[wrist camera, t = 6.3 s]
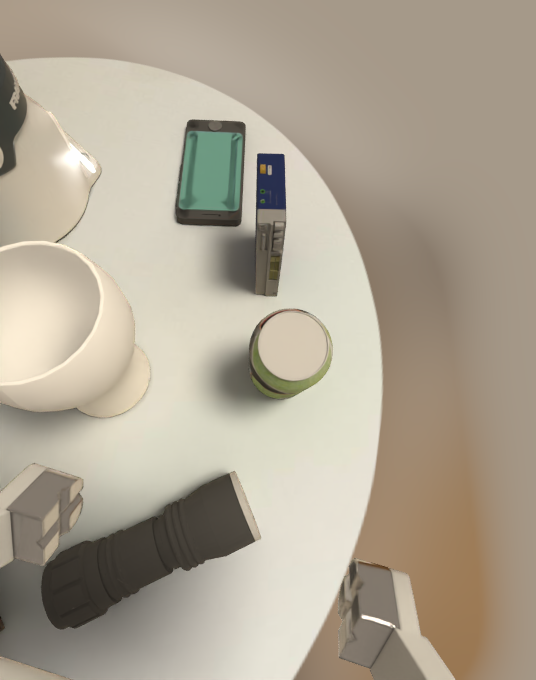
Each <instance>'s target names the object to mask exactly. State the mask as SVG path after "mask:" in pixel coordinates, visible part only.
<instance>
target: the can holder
mask: <svg viewBox="0 0 536 680" xmlns="http://www.w3.org/2000/svg"><path fill="white" fill-rule="evenodd" d="M4 628H5V627H4V625H3V622H2V620H1V617H0V631H2V630H3V629H4Z"/></svg>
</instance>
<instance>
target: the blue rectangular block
mask: <svg viewBox="0 0 536 680" xmlns="http://www.w3.org/2000/svg"><path fill="white" fill-rule="evenodd" d="M285 228H286V192H285V158H284V154H260V153H259V154H257V191H256V261H255V283H256V287H255V294H265V296H277V292H278V284H279V277H280V269H281V262H282V254H283V245H284V236H285Z"/></svg>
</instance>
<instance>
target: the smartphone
mask: <svg viewBox="0 0 536 680" xmlns="http://www.w3.org/2000/svg"><path fill="white" fill-rule="evenodd" d="M244 153H245V124H244V123H243V122H236V121H214V120H189V121H188V122H187V128H186V137H185V145H184V153H183V161H182V165H181V168H180V176H179V181H180V182H179V184H178V192H177V194H178V195H177V200H176V207H177V209H176V216H177V219H178V222H179V223H181V224H201V225H228V226H237V225H239V224H240V223H241V217H242V195H243V174H244Z"/></svg>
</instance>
